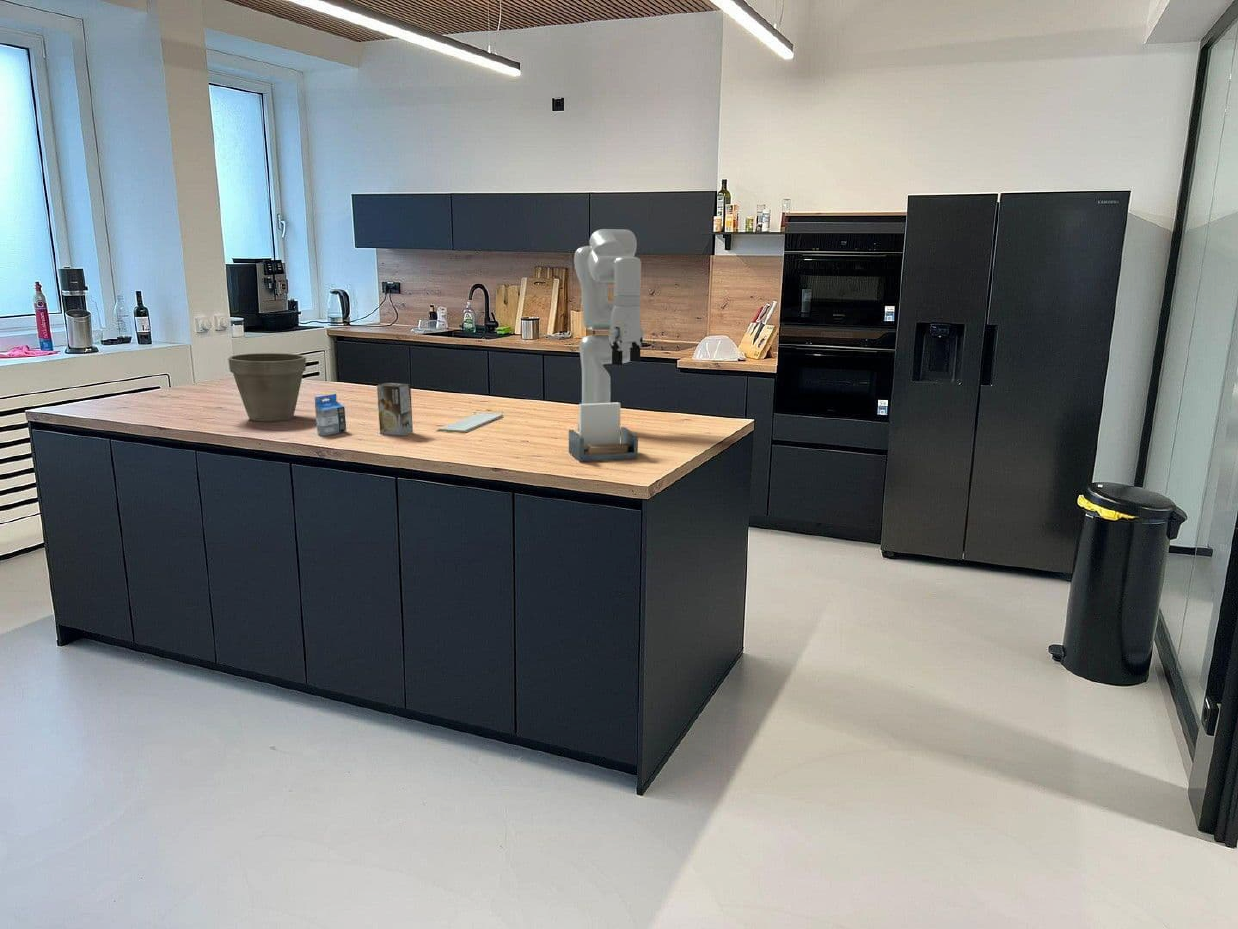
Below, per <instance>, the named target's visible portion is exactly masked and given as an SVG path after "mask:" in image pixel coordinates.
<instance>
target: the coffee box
mask: <svg viewBox="0 0 1238 929" xmlns="http://www.w3.org/2000/svg"><path fill="white" fill-rule="evenodd" d="M376 391H377V392H376V394H377V408H378V421H379V422H378V423H379V433H380V435H389V436H391V435H392V436H400V437H401V436H402V437H404V436H407V435H410V434H413V433H414V431H413V430H414V428H413V425H414V424H413V409H412V408H413V407H412V392H411V391H412V390H411V384H409V383H396V382H384V383H380V384H378V385H376Z"/></svg>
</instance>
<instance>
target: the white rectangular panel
mask: <svg viewBox="0 0 1238 929" xmlns="http://www.w3.org/2000/svg"><path fill="white" fill-rule="evenodd" d="M578 424H579V430H578V434H579V435H580V436H581V437H583V438H584V449H588V445H597V444H617V443H621V403H620V402H610V403H589V404H582V403H578Z"/></svg>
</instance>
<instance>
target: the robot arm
mask: <svg viewBox="0 0 1238 929" xmlns="http://www.w3.org/2000/svg"><path fill="white" fill-rule="evenodd" d="M636 252H637V238H636V236H635V234H634V232H633V231H631V230H630V229H626V228H625V229H622V228H620V229H616V228H615V229H614V228H612V229H611V228H601V229H597V230H595V231H594V232H593V233H592V234H591V236H590V237H589V245H585V246H581V247H578V248H577V249H576V250H575V253H574V259H573V260H574V262H573V263H574V264H573V265H574V269H575V273H576V276H577V280H578V282H579V286H580V289H581V308H582V309H581V310H582V323H583V326H584V328H585V329H586V330H589V331H594V332H595V331H599V332H601V331H603V332H607V331H609V334H589V335H586V336H584V337H582V338H581V340H580V341H579V345H578V346H579V356H580V364H581V365H580V366H581V404H589V403H611V375H610V374H609V372H608V370H607V369H606V368H605V366H603V365H608V364H611V365H613V366H623V364H626V363H629V362H637V363H640V362H641V348H642V343H643V340H644V335H645V331H644V330H643V329H642V315H641V300H642V299H641V298H642V297H641V294H642V293H641V291H642V290H641V289H642V288H641V287H642V285H641V284H642V282H641V280H642V261H641V259H640V258H639V257H638V256H636V255H635V254H636ZM607 283H609V284H611V283H612V284H613V301H609V299H608V286H607ZM576 428H577V430H578V431H579V423H578V424H577V427H576Z"/></svg>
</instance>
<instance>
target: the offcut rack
mask: <svg viewBox="0 0 1238 929" xmlns="http://www.w3.org/2000/svg"><path fill="white" fill-rule="evenodd" d="M620 443H624V444H626V445H627V446H628V452H625V453H608V454H591V455H584V452H588V449H584V438H583V437H581V436H580V435H579V432H578V433H577V432H576V431H575V430H574V429H568V454H569V453H570V454H569V455H571V454H572V455H571V456H572V457H573V458H574V459H575V460H576V461H577V460H578V461H579V462H578V461H577V462H578V463H580V462H583V463H593V462H592V461H599V462H607V461H606V460H615V461H626V460H627V461H629V460H638V458H639V453H638V452H639V444H638V443H639V435H638V434H637V433H635V432H633V431H631V430H630V429H628V428H627V427H625V426H622V427H621V426H620ZM604 460H605V461H604Z"/></svg>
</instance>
